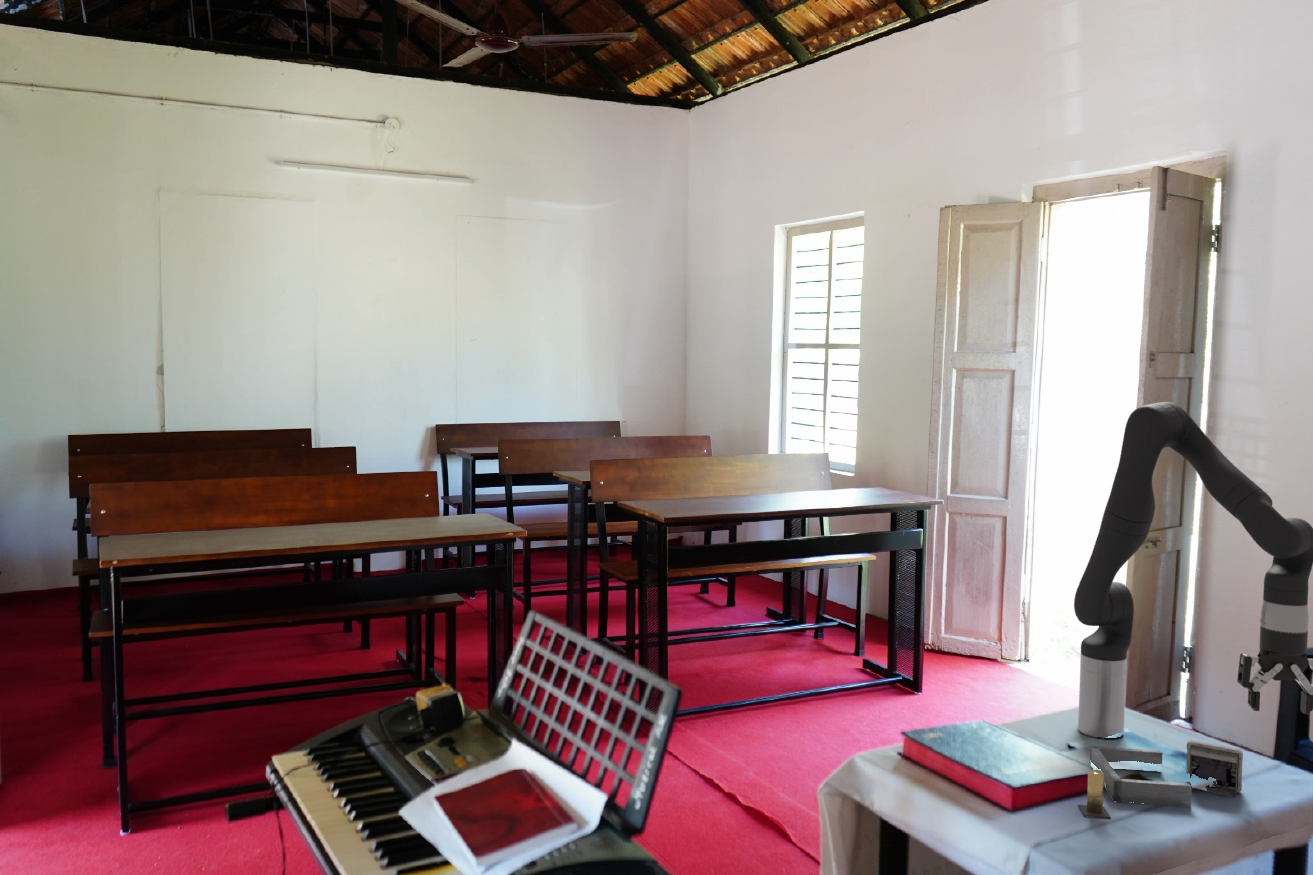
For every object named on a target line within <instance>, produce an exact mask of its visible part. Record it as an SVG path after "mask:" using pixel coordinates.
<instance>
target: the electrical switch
mask: <svg viewBox="0 0 1313 875" xmlns="http://www.w3.org/2000/svg"><path fill="white" fill-rule="evenodd" d="M1243 757H1244V751H1243V750H1242V749H1241V748H1238V747H1232V746H1225V745H1221V744H1215V743H1209V742H1203V741H1199V740H1193V739H1189V740H1187V743H1186V768H1185V769H1186V771H1185V772H1186V773H1185V775H1186V774H1188V773H1189V774H1190V778H1191V776H1192V774H1195V775H1196V776H1198V777H1199V778H1201V779H1202V778H1203V779H1206V780H1208V778H1209V777H1212V778H1214V779H1216V781H1213V783H1214V784H1213V786H1215V788H1213V787H1210V786H1209V787H1208V786H1207V788H1208V789H1207V788H1206V789H1207V793H1211V792H1213V793H1212V794H1217V795H1220V796H1221V795H1222V796H1226V797H1232V798H1236V795H1237V793H1240V792H1242V791H1243V790H1242V789H1243V788H1242V786H1243V784H1242V783H1243V782H1242V781H1243V760H1244V759H1243ZM1216 782H1217V784H1216Z"/></svg>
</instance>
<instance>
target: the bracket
mask: <svg viewBox="0 0 1313 875" xmlns="http://www.w3.org/2000/svg"><path fill="white" fill-rule="evenodd" d="M1089 752H1090V753H1089V761H1090V760H1091V762H1092V763H1093V764H1094V765H1095V766H1096V767H1097V768H1098V769H1101V771H1102V772H1103V773H1104V781H1105V783H1106V789H1107V790H1106V789H1105V790H1106V792H1107V794H1108V793H1109V794H1108V795H1109V796H1111V797H1112V798H1111V797H1110V798H1111V800H1112V799H1113V800H1112V801H1113V802H1114V801H1116V802H1115V803H1122V802H1132V803H1131V804H1135V803H1144V804H1143V805H1149V804H1152V806H1165V807H1178V808H1192V791H1193V789H1192V786H1191V785H1190V783H1189V782H1188V783H1186V782H1184V783H1183V782H1170V781H1157V780H1142V779H1130V778H1120V777H1119V775H1118V773H1117V772H1116V771H1115V769H1113V768H1112V767H1111V766H1110V764H1109V763H1108V762H1118V761H1119V762H1120V761H1137V762H1138V761H1139V762H1144V763H1151V764H1152V763H1153V764H1162V765H1163V751H1161V750H1158V749H1157V750H1155V749H1140V748H1125V747H1111V746H1109V747H1108V746H1096V745H1095V746H1093V745H1090V750H1089ZM1133 802H1134V803H1133Z"/></svg>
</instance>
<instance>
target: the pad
mask: <svg viewBox="0 0 1313 875" xmlns="http://www.w3.org/2000/svg"><path fill="white" fill-rule="evenodd" d="M1078 806H1079V807H1080V808H1079V807H1078V808H1079V810H1080V809H1081V810H1080V811H1082V812H1081V813H1082V816H1083V817H1084V816H1088V817H1087V818H1095V819H1096V817H1097V818H1099V819H1110V820H1111V816H1110V814H1109V812H1108V811H1107V809H1106V807H1105V806H1104V805H1103V811H1102V813H1100V814H1095V813H1091V812H1089V811H1087V804H1078Z"/></svg>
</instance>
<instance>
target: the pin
mask: <svg viewBox="0 0 1313 875" xmlns="http://www.w3.org/2000/svg"><path fill="white" fill-rule="evenodd" d="M1103 785H1104V773H1103V772H1101V771H1098V770H1093V769H1089V770H1087V789H1086V790H1087V797H1086V805H1087V811H1089V812H1091V813H1095V814H1100V813H1102V811H1103V806H1104V805H1103V804H1104V786H1103Z"/></svg>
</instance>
